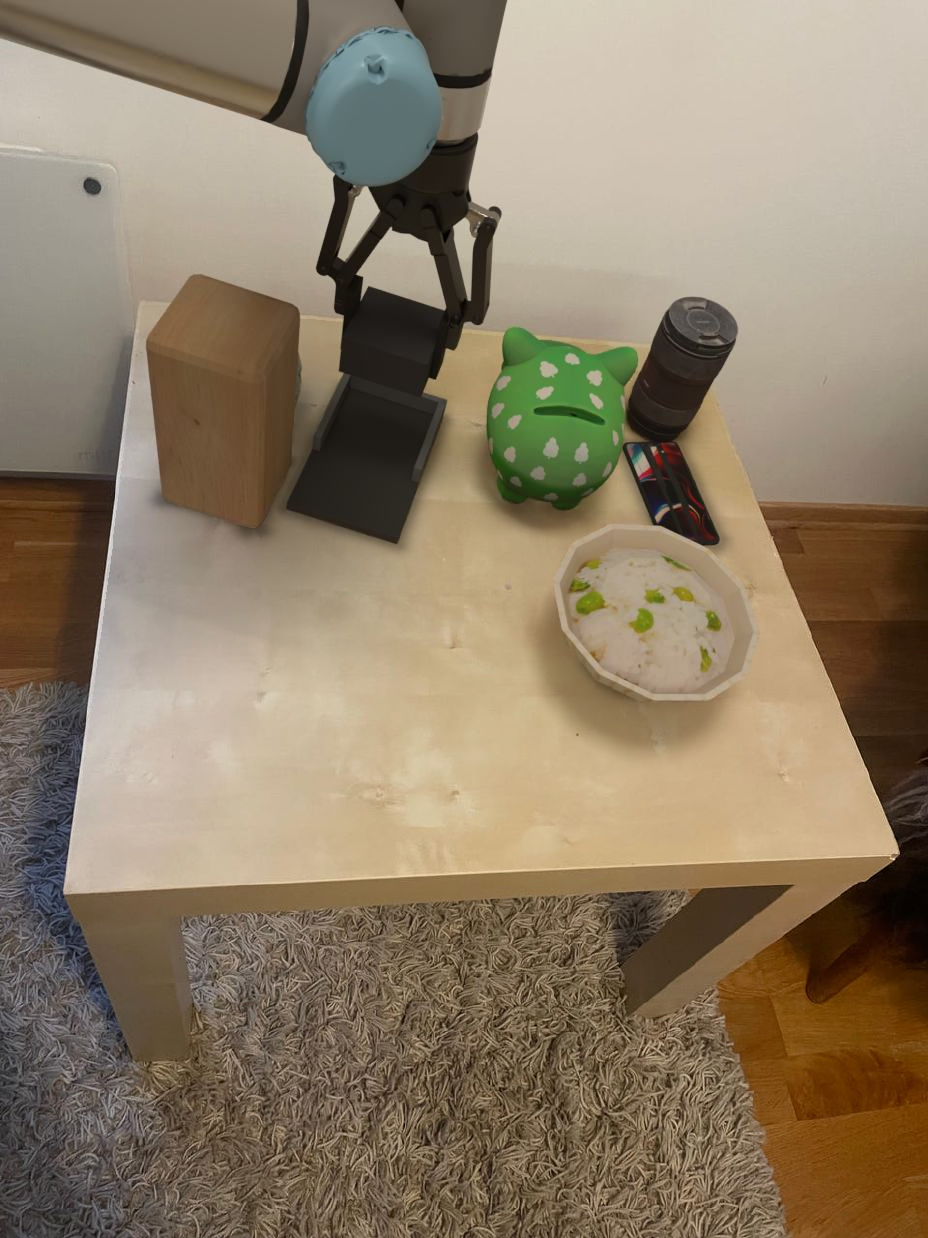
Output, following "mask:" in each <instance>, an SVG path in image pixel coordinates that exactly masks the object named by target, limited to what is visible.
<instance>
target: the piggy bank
mask: <svg viewBox="0 0 928 1238" xmlns="http://www.w3.org/2000/svg"><path fill="white" fill-rule="evenodd" d="M501 352H502V359H503V361H502V363H501V369H500V370H501V371H500V373H499V374H498V376H497V378H496V380H495V382H494V383H493V385H492V387H491V390H490V393H489V396H488V400H487V406H486V427H485V428H486V438H487V439H486V440H487V446H488V451H489V456H490V458H491V462H492V464H493V467H494V470H495V471H496V486H497V490H498V492H499V494H500V496H501V498H502V499H503V501H505V502H508V503H511V504H520V503H525V502H526V501H528V499H531V500H534V501H538V502H542V503H547V504H548V503H549V504H551V506H552V508H554V509H555V510H559V511H569V510H572V509H575V508H576V507H577V506H578V505H580V503H581V502H582V501H583V500H584V499H586V498H588V497H589V496H591V495H592V494H594V493H595V492H596V491H598V489H600V488H601V487H603V485H604V484H605V483H606V482H607V481H608V480H609V478H610V477H611V475H612V474H613V473H614V471H615V469H616V467H617V465H618V463H619V460H620V457H621V454H622V452H623V449H622V447H623V445H624V440H625V432H626V431H625V429H626V418H627V411H626V396H625V395H626V394H625V387H626V385H627V384H628V383H629V381H630V380H631V379H632V377H633V376H634V374H635V373H636V370H637V368H638V366H639V354H638V351H637V349H635V348H634V347H631V346H627V345H626V346H619V347H615V348H611V349H607V350H604V351H602V352H598V353H596V354H593V353H589V352H586V351H585V350H584V349H582V348H580V347H579V346H576V345H574V344H571V343H568V342H563V341H559V340H553V339H539V338H538V337H536V336H535V335H534V334H533V333H531V332H530V331H528V330H527V329H526V328H523V327H521V326H511V327H509V328H507V329H506V330H505V332H504V334H503V337H502V344H501Z"/></svg>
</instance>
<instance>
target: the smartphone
mask: <svg viewBox="0 0 928 1238" xmlns="http://www.w3.org/2000/svg"><path fill="white" fill-rule="evenodd" d="M622 452H623V454H624V456H625V459H626V461H627V464H628V466H629V469H630V471H631V474H632V476H633V478H634V481H635V483H636V486H637V488H638V491H639V494H640V495H641V498H642V501H643V503H644V506H645V508H646V510H647V513H648V515H649V518H650V521H651V523H652V526H662V527H664V528H666V529H668V530H670V531H672V532H674V533H677V534H679V535H681V536H683V537H685V538H687V539H689V540H691V541H694V542H696V543H698V544H700V545H702V546H704V547H706V546H717V545H718V544H719V543H720V539H721V538H720V535H719V533H718V531H717V529H716V526H715V524H714V522H713V519H712V517H711V515H710V513H709V511H708V508H707V506H706V504H705V501H704V499H703V497H702V494H701V492H700V490H699V488H698V486H697V482H696V480H695V478H694V476H693V474H692V472H691V469H690V467H689V465H688V463H687V460H686V458H685V456H684V454H683V452H682V449H681V447H680V445H679V444H678V443H677V442H675V441H674V440H673V441H667V442H658V441H651V440H650V441H627V442H625V443H623V446H622Z"/></svg>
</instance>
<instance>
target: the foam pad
mask: <svg viewBox="0 0 928 1238" xmlns="http://www.w3.org/2000/svg"><path fill="white" fill-rule="evenodd" d="M362 295H363V296H361V301H360V304H359V306H358V308H357V310H356V312H355V314H354V316H353V318H352V320H351V321H350V323H349V325H348V327H347V329H346V331H345V333H344V335H343V337H342V336H341V337H342V344H341V343H340V347H341V349H340V352H339V353H340V355H339V365H338V372H340V373H341V374H343V373H345V374H349V375H352V376H355V377H358V378H361V379H364V380H367V381H370V382H374V383H377V384H380V385H383V386H386V387H389V388H392V389H396V390H399V391H402V392H405V393H408V394H411V395H414V396H417V397H421V396H422V394H423V392H424V391H425V389H426V387H427V384H428V381H429V379H430V378H429V374H430V369H431V364H432V360H433V355H434V350H435V343H436V339H437V334H438V329H439V324H440V321H441V318H442V316H443V314H444V311H445V309H442V308H438V307H436V306H432V305H430V304H426V303H423V302H419V301H416V300H415V299H411V298H406V297H404V296H401V295H398V294H395V293H392V292H388V291H385V290H383V289H380V288H376V287H373V286H370V285H368V286H367V288H366V290H365V291H364V294H362Z"/></svg>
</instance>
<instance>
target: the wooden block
mask: <svg viewBox="0 0 928 1238" xmlns="http://www.w3.org/2000/svg"><path fill="white" fill-rule="evenodd" d="M300 329H301V313H300V309H299V307H297V306H296V304H295V305H294V304H293V303H291V302H288V301H285V300H282V299H278V298H276V297H272V296H269V295H267V294H263V293H260V292H258V291H254V290H251V289H247V288H245V287H242V286H239V285H235V284H233V283H229V282H226V281H224V280H220V279H217V278H214V277H211V276H208V275H205V274H201V273H193V274H191V275H190V276H189V277H188V278H187V280H186V281H185V283H184V284H183V285H182V287H181V288H180V289H179V291H178V293H177V294H176V295H175V297H174V298H173V299H172V301H171V302H170V304H169V305H168V306H167V308H166V310H165V311H164V312H163V314H162V315H161V316H160V318H159V319H158V321H157V322H156V324H154V326H153V328H152V329H151V331H149V333H148V335H147V338H146V340H145V350H146V359H147V369H148V378H149V388H150V398H151V406H152V416H153V423H154V434H155V442H156V451H157V461H158V470H159V477H160V480H159V481H160V488H161V495H162V498H163V499H164V500H166V501H167V502H168V503H170V504H174V505H176V506H180V507H183V508H186V509H190V510H193V511H195V512H199V513H203V514H206V515H208V516H211V517H215V518H218V519H221V520H224V521H227V522H230V523H234V524H237V525H239V526H240V525H241V526H244V527H245V528H246V527H247V528H250V529H257V528H258V527H259V526H260V525H261V524H262V523H263V522H264V520H265V517H266V515H267V513H268V511H269V510H270V507H271V505H272V503H273V501H274V499H275V497H276V495H277V493H278V491H279V489H280V487H281V486H282V483H283V482H284V480H285V477H286V475H287V473H288V471H289V469H290V467H291V465H292V457H293V456H292V455H293V442H294V425H295V422H294V421H295V409H296V404H295V395H296V379H297V363H298V352H299V346H300V345H299V344H300Z"/></svg>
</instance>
